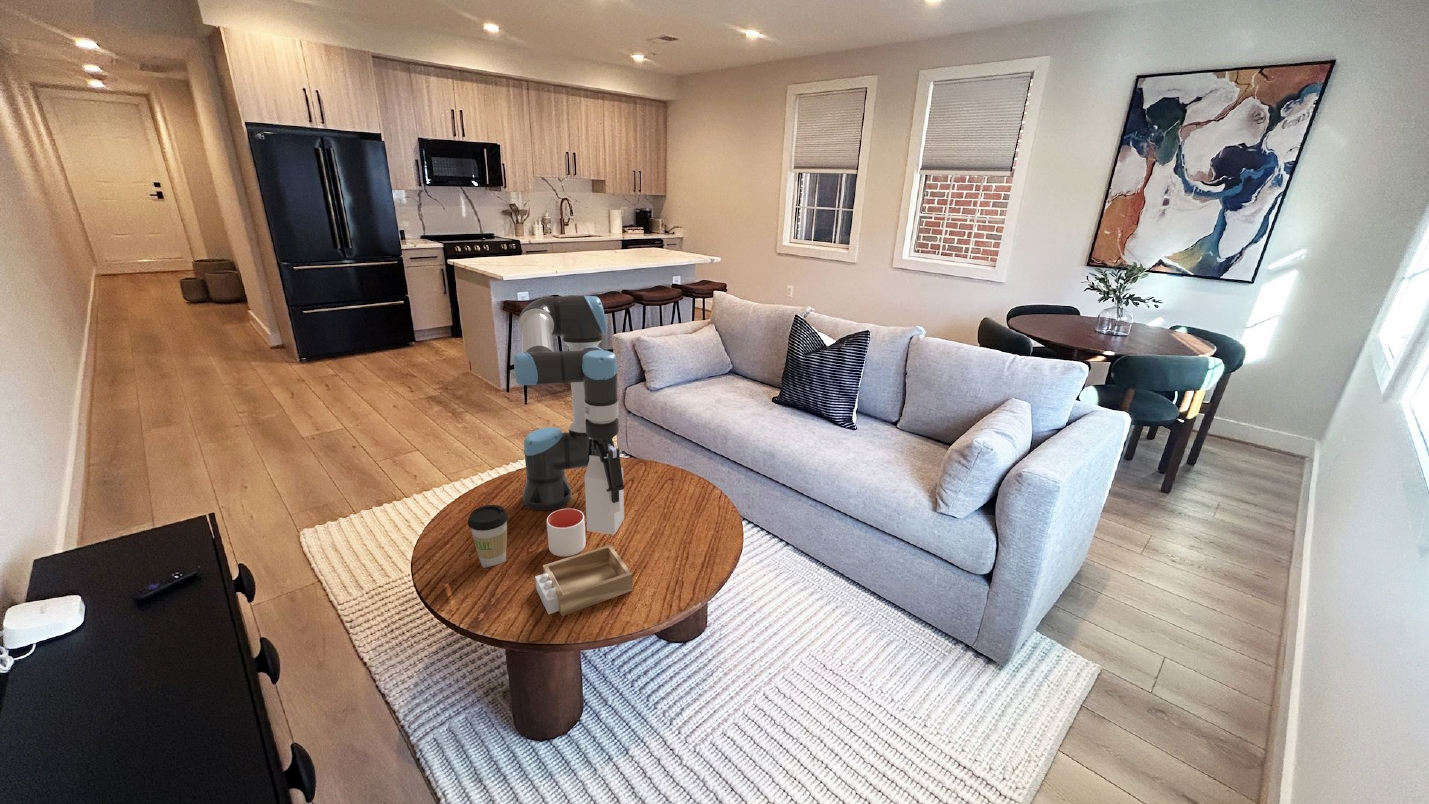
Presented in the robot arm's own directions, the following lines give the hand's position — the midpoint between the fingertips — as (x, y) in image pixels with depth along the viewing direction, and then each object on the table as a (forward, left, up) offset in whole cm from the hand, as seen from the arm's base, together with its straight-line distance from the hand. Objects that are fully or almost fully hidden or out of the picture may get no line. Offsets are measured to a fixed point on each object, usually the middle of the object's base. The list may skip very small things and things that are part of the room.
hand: (605, 502), depth 135 cm
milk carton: (0, 0, -7) cm, 7 cm away
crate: (+1, -6, -23) cm, 24 cm away
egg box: (+1, -15, -22) cm, 27 cm away
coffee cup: (-22, -24, -23) cm, 40 cm away
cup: (-18, -5, -23) cm, 30 cm away
